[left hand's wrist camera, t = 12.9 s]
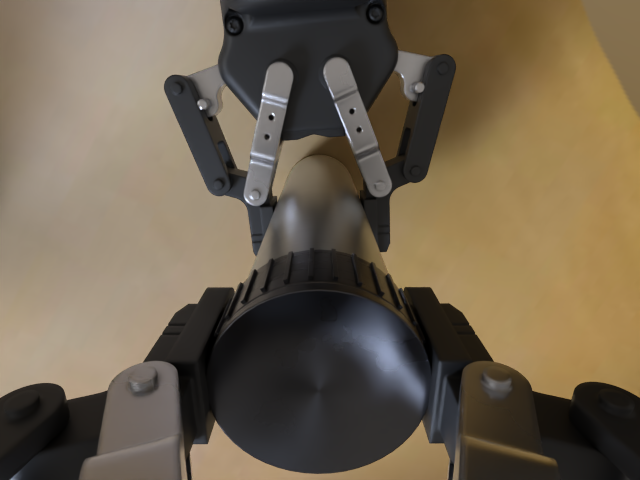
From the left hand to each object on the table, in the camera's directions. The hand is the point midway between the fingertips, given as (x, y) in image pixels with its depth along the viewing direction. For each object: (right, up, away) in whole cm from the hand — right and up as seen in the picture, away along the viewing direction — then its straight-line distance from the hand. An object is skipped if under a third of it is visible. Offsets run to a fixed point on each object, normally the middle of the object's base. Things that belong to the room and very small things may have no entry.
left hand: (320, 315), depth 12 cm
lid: (0, -1, -3) cm, 3 cm away
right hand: (0, +1, +11) cm, 11 cm away
